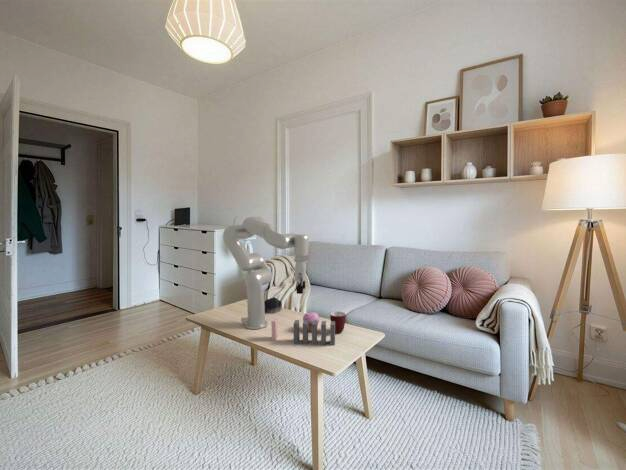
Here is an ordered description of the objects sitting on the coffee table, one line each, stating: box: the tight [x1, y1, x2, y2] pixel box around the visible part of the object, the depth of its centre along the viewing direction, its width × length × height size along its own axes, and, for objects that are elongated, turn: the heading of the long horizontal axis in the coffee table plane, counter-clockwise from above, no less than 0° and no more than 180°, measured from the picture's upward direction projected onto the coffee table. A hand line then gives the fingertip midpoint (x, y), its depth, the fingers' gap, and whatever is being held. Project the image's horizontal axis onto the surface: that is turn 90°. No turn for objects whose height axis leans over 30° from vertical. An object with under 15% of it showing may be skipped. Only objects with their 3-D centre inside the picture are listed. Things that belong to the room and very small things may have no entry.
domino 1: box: [293, 319, 300, 345], centre depth 152 cm, size 2×5×10 cm, turn 173°
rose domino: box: [271, 317, 279, 342], centre depth 155 cm, size 2×5×10 cm, turn 173°
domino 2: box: [302, 320, 309, 345], centre depth 151 cm, size 2×5×10 cm, turn 173°
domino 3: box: [311, 321, 318, 346], centre depth 151 cm, size 2×5×10 cm, turn 173°
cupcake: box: [302, 311, 320, 333], centre depth 166 cm, size 9×9×10 cm
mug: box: [329, 311, 347, 335], centre depth 164 cm, size 11×8×10 cm
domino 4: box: [320, 320, 327, 346], centre depth 150 cm, size 2×5×10 cm, turn 173°
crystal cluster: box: [264, 297, 283, 315], centre depth 200 cm, size 13×14×10 cm
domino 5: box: [329, 320, 336, 346], centre depth 150 cm, size 2×5×10 cm, turn 173°
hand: (301, 291), depth 159 cm, fingers open, 9 cm apart
